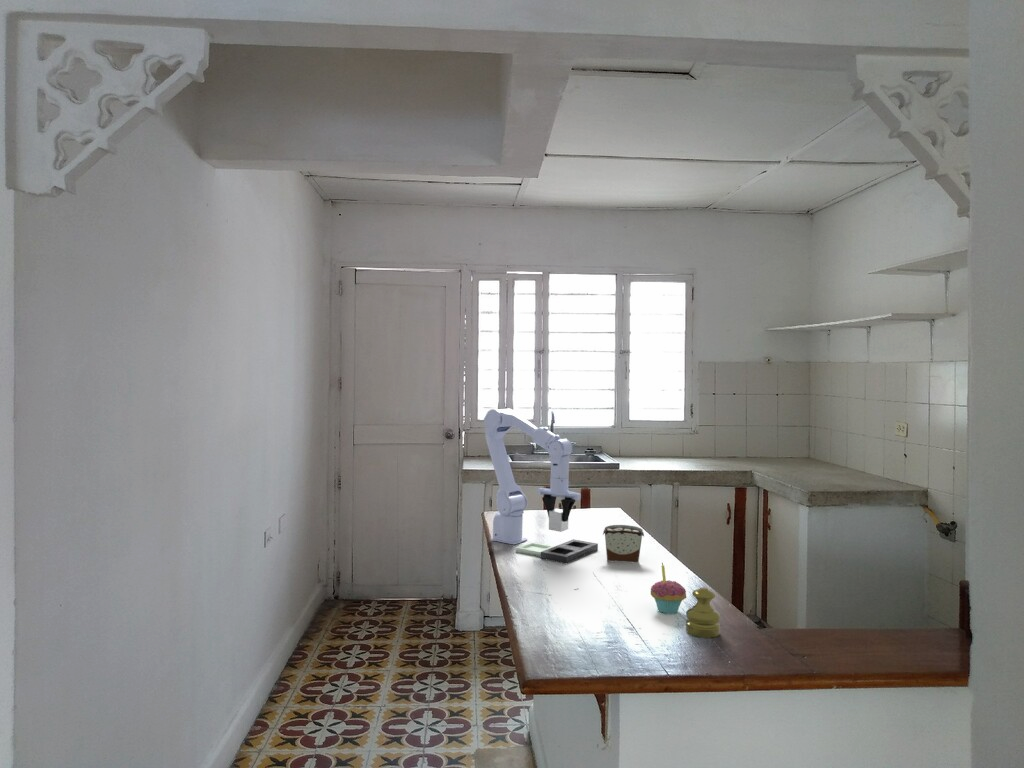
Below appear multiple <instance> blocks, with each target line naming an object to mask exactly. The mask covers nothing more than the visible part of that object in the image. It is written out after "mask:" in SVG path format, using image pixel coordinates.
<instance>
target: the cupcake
mask: <svg viewBox="0 0 1024 768" xmlns="http://www.w3.org/2000/svg"><path fill="white" fill-rule="evenodd" d="M665 570H666V569H665V565H664V564H663V562H661V573H662V580H660V581H657V582H655V583H654V584H653V585H651V587H650V595H651V597H652V598H653V599H654V601H655V603H656V607H657V608H656V609H657V610H659V611H658V612H660V613H662V612H663V614H666V613H669V615H673V614H677V613H678V612H679V609H680V606H681V604H682V601H684V600H686V598H687V590H686V588H685V587H684V586H683V585H681V584H680V583H679V582H677V580H675V581H674V580H673V581H672V580H666V579H667V578H666V571H665Z"/></svg>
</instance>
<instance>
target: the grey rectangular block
mask: <svg viewBox="0 0 1024 768" xmlns="http://www.w3.org/2000/svg"><path fill="white" fill-rule="evenodd" d="M548 530H549V531H554V532H559V533H560V532H565V531H567V530H569V520H568V521H566V522H563V508H554V509H553V510H550V511H549V517H548Z"/></svg>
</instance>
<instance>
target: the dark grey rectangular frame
mask: <svg viewBox="0 0 1024 768" xmlns="http://www.w3.org/2000/svg"><path fill="white" fill-rule="evenodd" d="M598 548H599V543H597V542H596V543H595V542H591V541H590V542H589V541H584V540H580V539H574V538H572V539H571V540H568V541H565V542H562V543H560V544H557V545H555V547H552V548H550V549H547V550H544V551H542V552H541V557H540V559H541V558H543V559H542V560H546V559H547V561H551V562H556V561H557V562H556V563H561V562H562V563H561V564H566V563H567V564H569V563H571V562H573V561H576V560H578V559H581V558H582V557H585V556H587V555H589V553H590V554H592V553H594V552H596V551H598V550H599V549H598ZM568 562H569V563H568Z"/></svg>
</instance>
